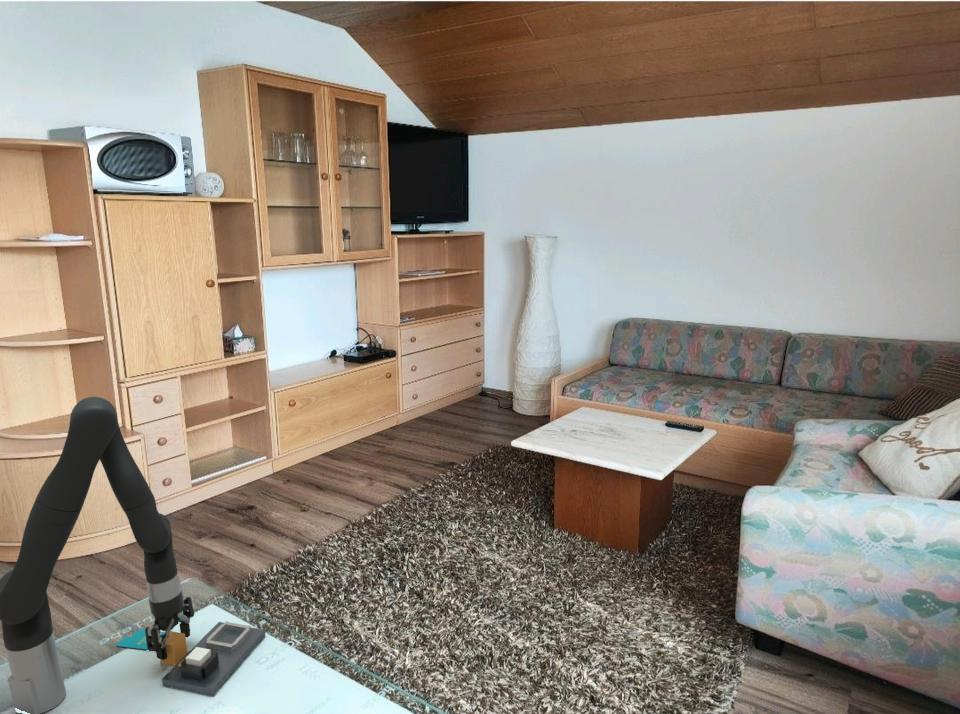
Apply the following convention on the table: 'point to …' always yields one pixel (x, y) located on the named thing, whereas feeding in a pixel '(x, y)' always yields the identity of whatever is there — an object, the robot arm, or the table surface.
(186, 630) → the robot arm
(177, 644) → the cap
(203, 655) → the button
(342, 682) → the table surface
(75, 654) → the table surface
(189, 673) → the grey control panel
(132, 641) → the smartphone
